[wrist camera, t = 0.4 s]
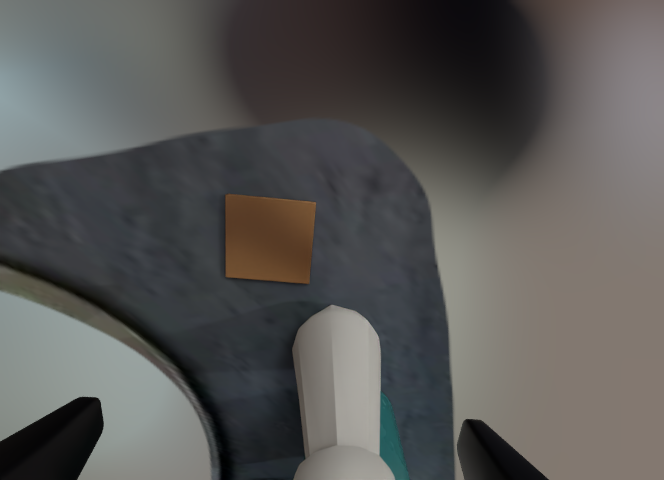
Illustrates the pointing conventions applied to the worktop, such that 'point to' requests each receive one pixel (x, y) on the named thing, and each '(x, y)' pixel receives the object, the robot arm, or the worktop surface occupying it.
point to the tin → (390, 441)
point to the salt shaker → (339, 397)
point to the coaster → (269, 238)
